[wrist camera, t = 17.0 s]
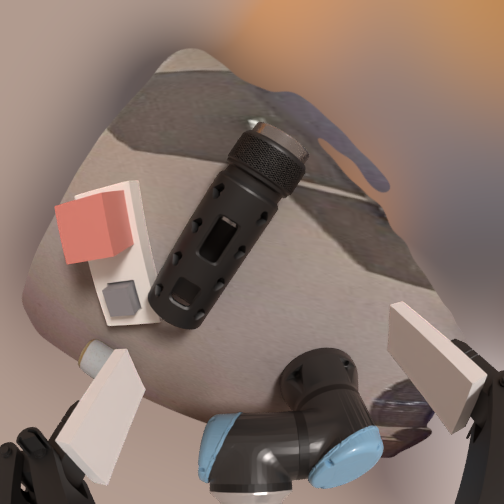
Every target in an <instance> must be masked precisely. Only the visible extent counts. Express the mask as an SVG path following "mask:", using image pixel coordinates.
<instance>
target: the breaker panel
mask: <svg viewBox="0 0 504 504" xmlns="http://www.w3.org/2000/svg"><path fill="white" fill-rule="evenodd" d="M119 190H124V194H125V200H126V206H127V212H128V217H129V222H130V227H131V232H132V237H133V242H134V244H133V245H132V246H130V247H128V248H127V249H125V250H124V251H122V252H120V253H119V254H117V255H116V256H114V257H108V258H102V259H96V260H90V261H88V263H89V267H90V271H91V274H92V278H93V281H94V285H95V288H96V292H97V295H98V298H99V301H100V304H101V307H102V310H103V313H104V316H105V319H106V322H107V325H108V326H117V325H133V324H147V323H159V322H161V321H162V318H161V317H160V316H158V315H157V314H156V313H155V311H154V310H153V309H152V308H151V306H150V304H149V302H148V293H149V291H150V289H151V287H152V285H153V284H154V282H155V280H156V278H157V273H156V268H155V264H154V260H153V255H152V251H151V246H150V241H149V237H148V232H147V227H146V221H145V216H144V210H143V205H142V199H141V193H140V187H139V180H137V181H126V182H122V183H118V184H114V185H110V186H107V187H103V188H99V189H96V190H92V191H89V192H85V193H82V194H79V195H75V200H77V199H80V198H84V197H87V196H91V195H94V194H98V193H102V192H110V191H119ZM128 280H134V283H135V287H136V290H137V294H138V298H139V301H140V304H141V307H140V308H139V310H138V311H137V312H136V314H135V315H129V316H116V317H110V314H109V311H108V308H107V305H106V302H105V299H104V296H103V292H102V290H103V289H104V288H106V287H107V286H108V285H109V284H110V283H113V282H120V281H128Z"/></svg>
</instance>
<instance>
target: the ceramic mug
mask: <svg viewBox="0 0 504 504" xmlns="http://www.w3.org/2000/svg"><path fill="white" fill-rule="evenodd" d="M113 351H114V350H113V349H112V348H110V347H109V346H107V345H105V344H104V343H102V342H101V341H99V340H96V339H93V340H91V341H89V342H88V343H87V345H86V346H85V347H84V349H83V351H82V353H81V355H80V357H79V361H78V365H79V367H80V368H81V369H82V370H83V371H84V372H85V373H86V374H87V375H89V376H90V377H92V378H93V379H95V377H96V376H97V374H98V373H99V371H100V370H101V368H102V367H103V365H104V364H105V363H106V361H107V360H108V358H109V357H110V355H111V354H112V352H113Z"/></svg>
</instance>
